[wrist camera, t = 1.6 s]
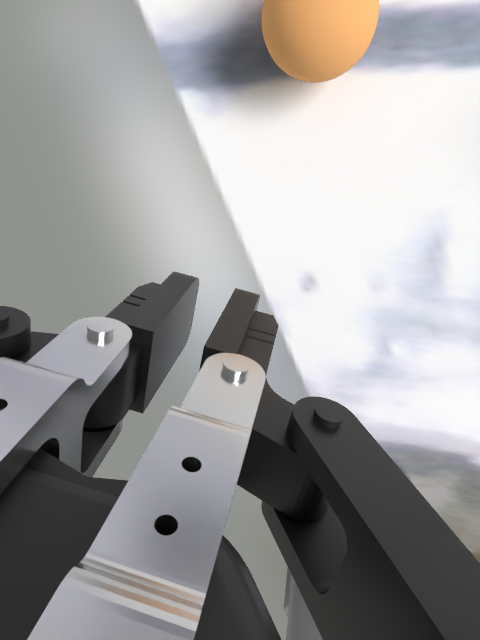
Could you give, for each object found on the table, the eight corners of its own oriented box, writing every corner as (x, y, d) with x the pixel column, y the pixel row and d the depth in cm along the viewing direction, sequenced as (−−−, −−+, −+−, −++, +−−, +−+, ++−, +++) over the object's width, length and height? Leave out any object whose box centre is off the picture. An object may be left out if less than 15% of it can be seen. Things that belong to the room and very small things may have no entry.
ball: (330, 105, 25) (330, 104, 20) (250, 47, 25) (229, 32, 20) (396, 4, 23) (414, -25, 18) (308, -63, 22) (301, -112, 17)
